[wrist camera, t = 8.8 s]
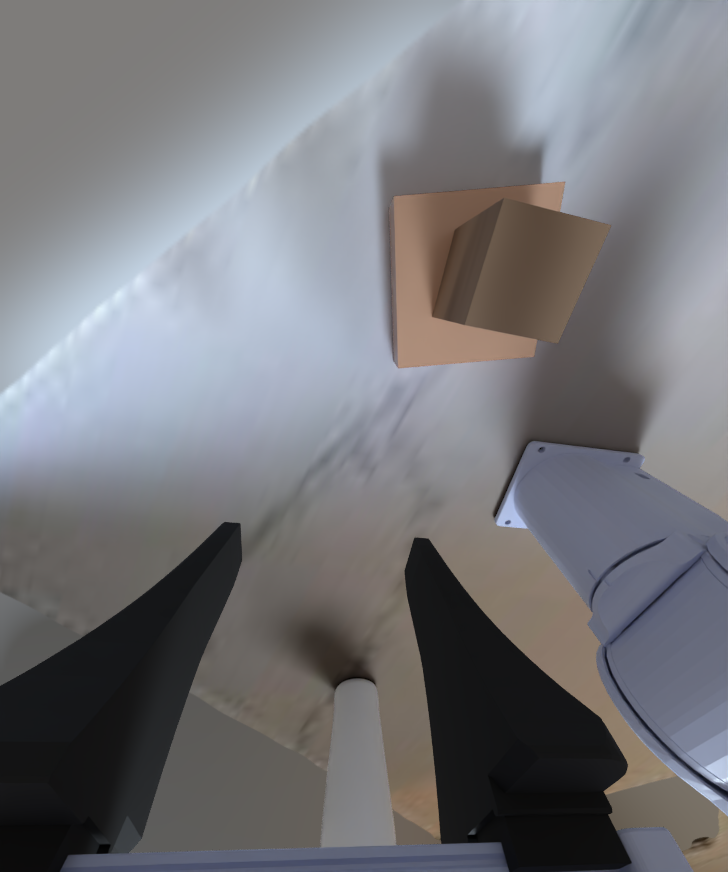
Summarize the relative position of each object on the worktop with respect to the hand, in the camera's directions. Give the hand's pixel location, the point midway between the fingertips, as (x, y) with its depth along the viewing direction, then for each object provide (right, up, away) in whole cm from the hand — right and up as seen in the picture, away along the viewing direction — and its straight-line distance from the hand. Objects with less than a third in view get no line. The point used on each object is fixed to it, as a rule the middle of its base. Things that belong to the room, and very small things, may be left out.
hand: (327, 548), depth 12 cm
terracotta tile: (+7, +14, +5) cm, 16 cm away
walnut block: (+8, +13, +3) cm, 15 cm away
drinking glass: (+1, -27, +24) cm, 36 cm away
